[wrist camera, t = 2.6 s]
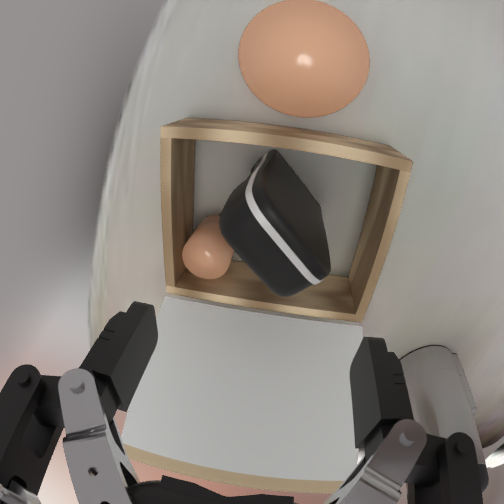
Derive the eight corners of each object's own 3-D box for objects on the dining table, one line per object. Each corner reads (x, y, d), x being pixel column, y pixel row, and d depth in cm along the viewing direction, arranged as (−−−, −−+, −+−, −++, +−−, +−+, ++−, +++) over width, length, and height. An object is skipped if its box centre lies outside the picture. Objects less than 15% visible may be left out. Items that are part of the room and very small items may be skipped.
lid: (353, 492, 16) (348, 491, 16) (362, 326, 24) (358, 331, 25) (116, 453, 17) (121, 454, 18) (164, 296, 26) (167, 302, 26)
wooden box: (390, 146, 22) (413, 161, 18) (353, 285, 30) (361, 322, 25) (187, 117, 24) (160, 126, 19) (185, 260, 31) (166, 292, 26)
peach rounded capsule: (240, 217, 28) (230, 240, 24) (237, 255, 30) (228, 282, 26) (197, 211, 28) (181, 233, 24) (197, 249, 30) (182, 275, 26)
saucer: (372, 14, 17) (374, 12, 16) (358, 126, 22) (360, 128, 21) (246, -3, 18) (244, -6, 17) (235, 109, 23) (233, 109, 22)
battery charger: (238, 171, 26) (199, 230, 16) (273, 144, 24) (256, 187, 14) (288, 231, 28) (281, 317, 18) (323, 208, 26) (337, 287, 16)
